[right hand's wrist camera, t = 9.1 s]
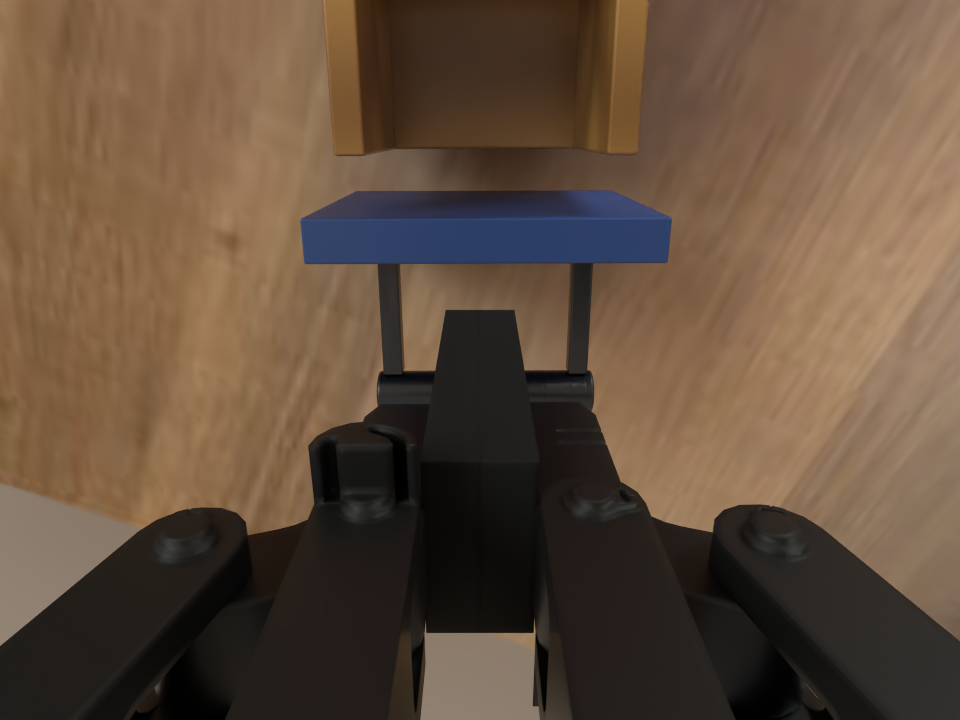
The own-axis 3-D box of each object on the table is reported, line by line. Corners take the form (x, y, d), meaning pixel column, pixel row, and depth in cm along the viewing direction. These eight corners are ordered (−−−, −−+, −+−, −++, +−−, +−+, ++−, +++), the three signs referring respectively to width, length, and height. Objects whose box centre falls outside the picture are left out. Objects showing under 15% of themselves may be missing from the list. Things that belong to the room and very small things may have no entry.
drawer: (602, 353, 27) (651, 442, 19) (365, 354, 27) (320, 443, 19) (651, -432, 19) (769, -817, 11) (314, -431, 19) (202, -815, 11)
